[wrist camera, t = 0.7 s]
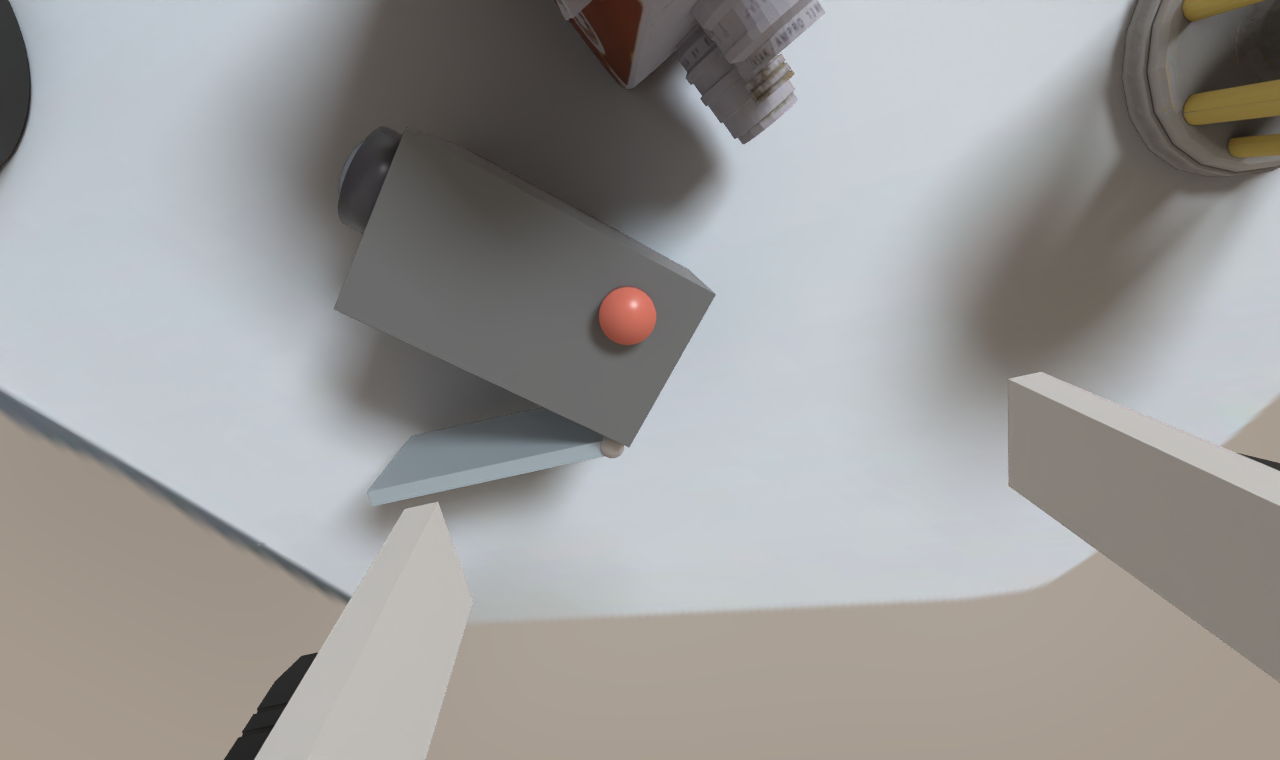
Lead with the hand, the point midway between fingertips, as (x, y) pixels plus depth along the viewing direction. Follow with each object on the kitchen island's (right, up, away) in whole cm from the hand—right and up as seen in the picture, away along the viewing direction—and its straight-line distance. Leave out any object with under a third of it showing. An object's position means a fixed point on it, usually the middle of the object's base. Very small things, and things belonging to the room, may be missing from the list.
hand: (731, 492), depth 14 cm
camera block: (-9, +9, +20) cm, 24 cm away
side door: (-9, 0, +22) cm, 24 cm away
